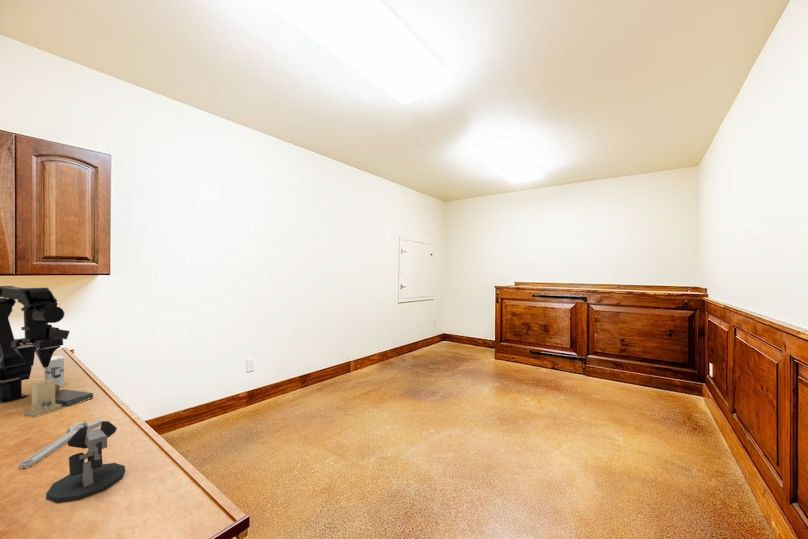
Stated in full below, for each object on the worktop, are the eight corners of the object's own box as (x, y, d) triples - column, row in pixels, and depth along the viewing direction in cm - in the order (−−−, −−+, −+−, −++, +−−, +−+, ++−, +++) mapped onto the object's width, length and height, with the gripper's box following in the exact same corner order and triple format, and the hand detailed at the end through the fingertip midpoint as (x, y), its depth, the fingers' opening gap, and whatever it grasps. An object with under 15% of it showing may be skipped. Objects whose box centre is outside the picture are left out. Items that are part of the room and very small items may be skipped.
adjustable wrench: (29, 471, 80) (29, 463, 80) (-3, 474, 79) (-3, 466, 79) (105, 423, 104) (105, 417, 104) (81, 425, 103) (81, 419, 103)
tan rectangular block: (24, 415, 110) (24, 384, 110) (51, 407, 117) (51, 378, 117) (34, 417, 109) (34, 386, 109) (61, 408, 115) (61, 379, 115)
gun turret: (112, 451, 87) (112, 401, 87) (132, 481, 74) (132, 422, 74) (40, 474, 77) (40, 418, 77) (49, 514, 64) (49, 446, 65)
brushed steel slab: (35, 402, 121) (35, 388, 121) (63, 394, 129) (63, 381, 129) (66, 406, 117) (66, 392, 117) (93, 398, 125) (92, 384, 125)
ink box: (44, 385, 140) (43, 357, 140) (61, 382, 144) (60, 354, 144) (47, 390, 134) (47, 360, 135) (64, 386, 138) (64, 357, 139)
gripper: (80, 319, 125) (82, 361, 125) (50, 319, 131) (52, 359, 131) (39, 324, 115) (42, 370, 114) (9, 324, 121) (11, 368, 121)
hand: (38, 366), depth 120 cm, fingers open, 9 cm apart
